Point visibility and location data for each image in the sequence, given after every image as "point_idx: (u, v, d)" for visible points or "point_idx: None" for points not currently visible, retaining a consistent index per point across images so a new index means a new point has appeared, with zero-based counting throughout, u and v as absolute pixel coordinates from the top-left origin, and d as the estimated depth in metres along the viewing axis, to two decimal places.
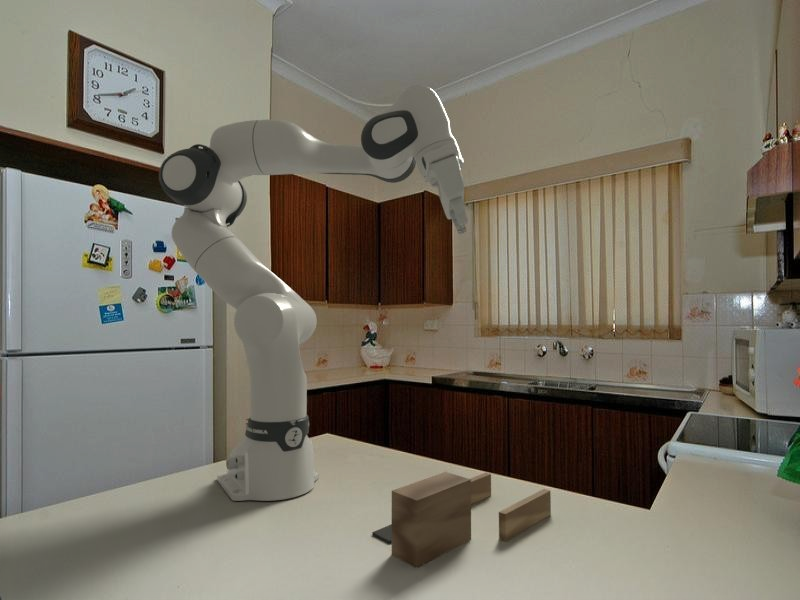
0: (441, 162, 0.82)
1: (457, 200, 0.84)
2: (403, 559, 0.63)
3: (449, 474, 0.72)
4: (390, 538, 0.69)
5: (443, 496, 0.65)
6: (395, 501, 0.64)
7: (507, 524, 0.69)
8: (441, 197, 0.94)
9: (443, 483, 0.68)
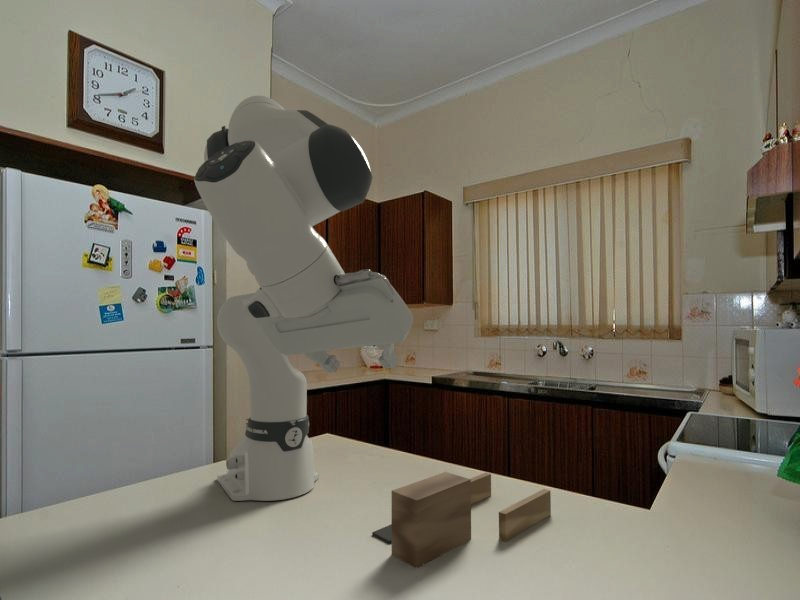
0: None
1: None
2: (403, 559, 0.63)
3: (449, 474, 0.72)
4: (390, 538, 0.69)
5: (443, 496, 0.65)
6: (395, 501, 0.64)
7: (507, 524, 0.69)
8: None
9: (443, 483, 0.68)
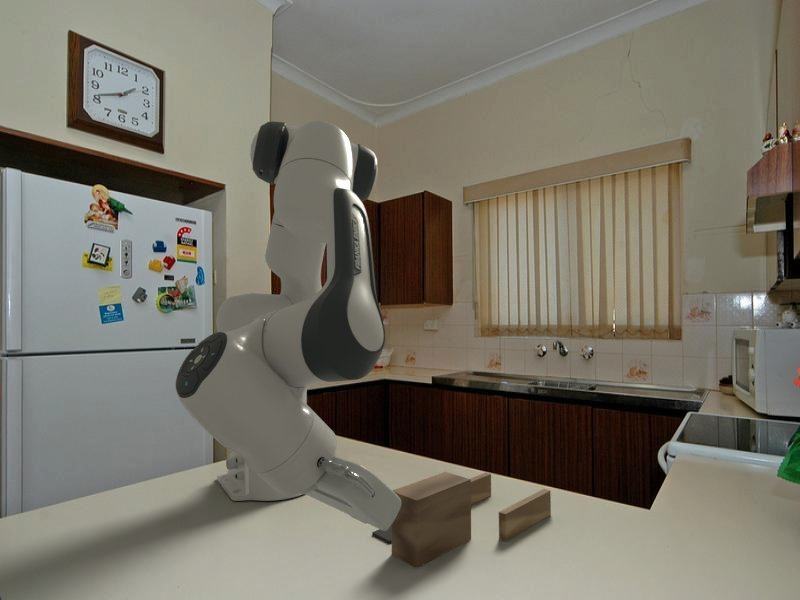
0: None
1: None
2: (403, 559, 0.63)
3: (449, 474, 0.72)
4: (390, 538, 0.69)
5: (443, 496, 0.65)
6: None
7: (507, 524, 0.69)
8: None
9: (442, 483, 0.68)
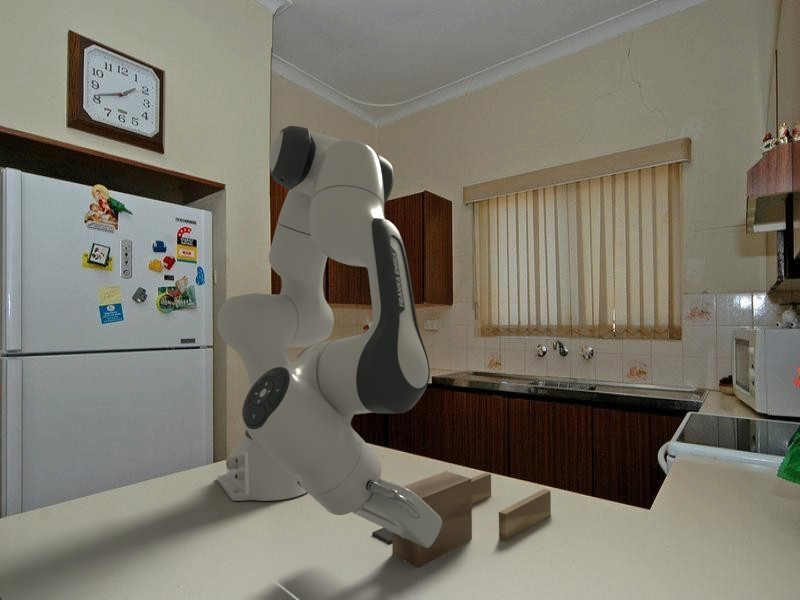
0: None
1: None
2: (404, 558, 0.63)
3: (450, 474, 0.72)
4: (390, 538, 0.69)
5: (444, 495, 0.65)
6: None
7: (507, 524, 0.69)
8: None
9: (443, 482, 0.68)
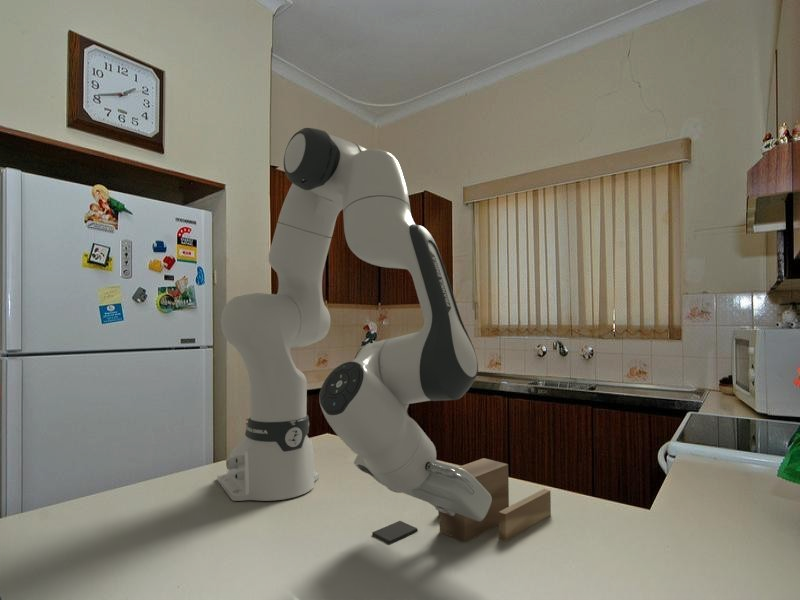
0: None
1: None
2: (451, 534, 0.70)
3: (488, 460, 0.79)
4: (390, 538, 0.69)
5: (486, 478, 0.72)
6: None
7: (507, 524, 0.69)
8: None
9: (483, 467, 0.75)
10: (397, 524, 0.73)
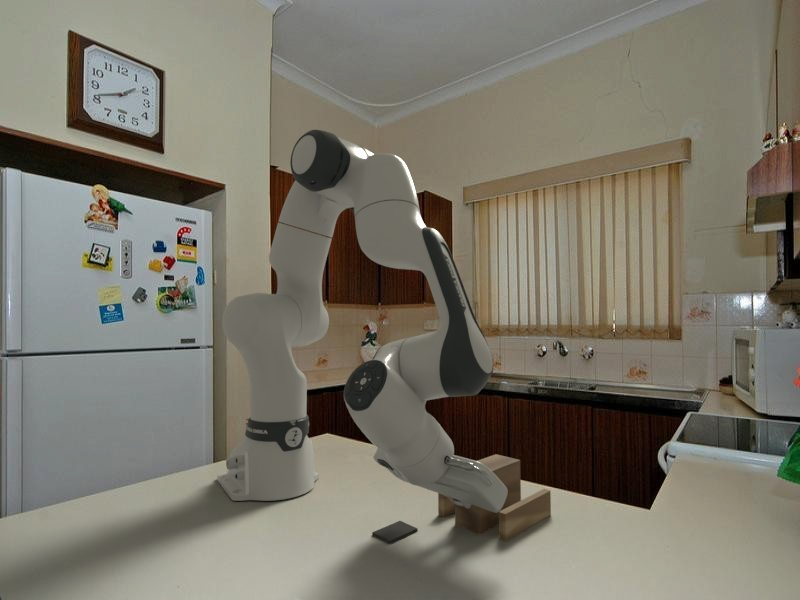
0: None
1: None
2: (466, 527, 0.73)
3: (500, 456, 0.82)
4: (390, 538, 0.69)
5: (499, 473, 0.75)
6: None
7: (507, 524, 0.69)
8: None
9: (497, 462, 0.78)
10: (397, 524, 0.73)
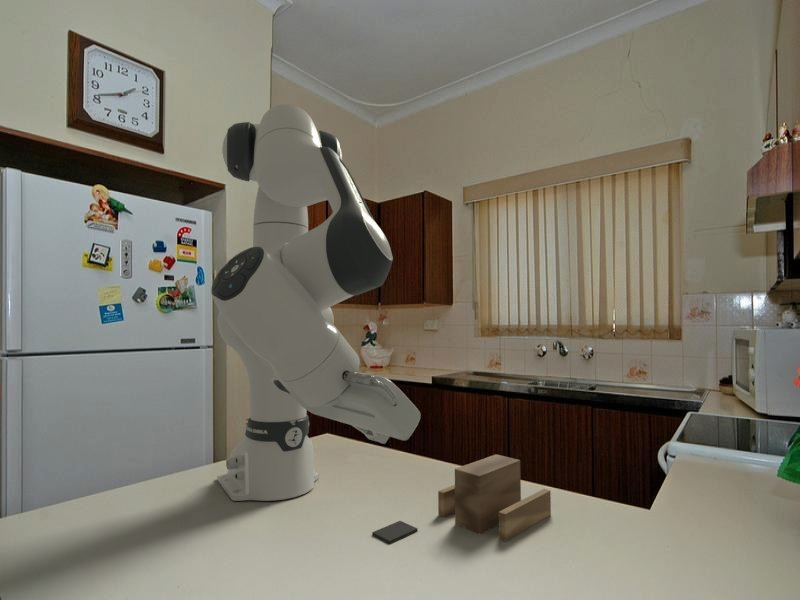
0: None
1: None
2: (466, 527, 0.73)
3: (500, 456, 0.82)
4: (390, 538, 0.69)
5: (499, 473, 0.75)
6: (458, 478, 0.74)
7: (507, 524, 0.69)
8: None
9: (497, 463, 0.78)
10: (397, 524, 0.73)
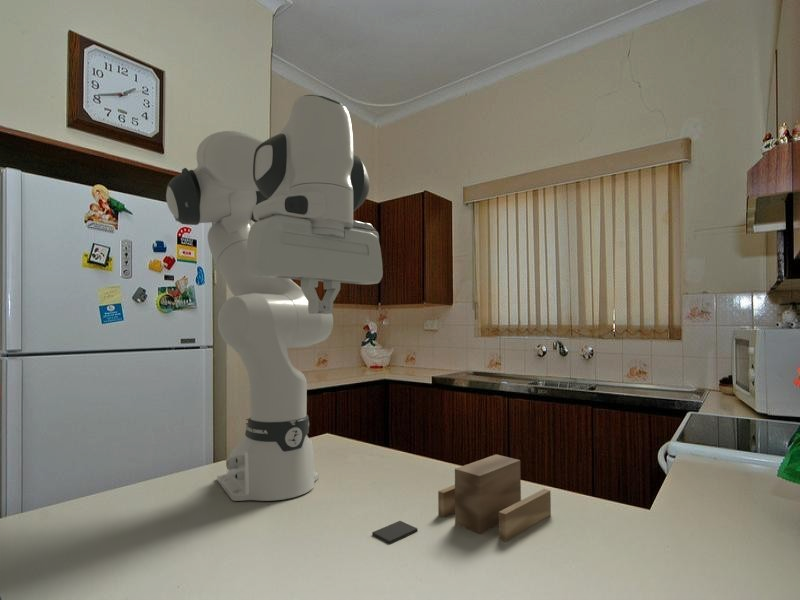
0: (257, 223, 0.57)
1: (305, 281, 0.60)
2: (466, 527, 0.73)
3: (500, 456, 0.82)
4: (390, 538, 0.69)
5: (499, 473, 0.75)
6: (458, 477, 0.74)
7: (507, 524, 0.69)
8: None
9: (497, 463, 0.78)
10: (397, 524, 0.73)
